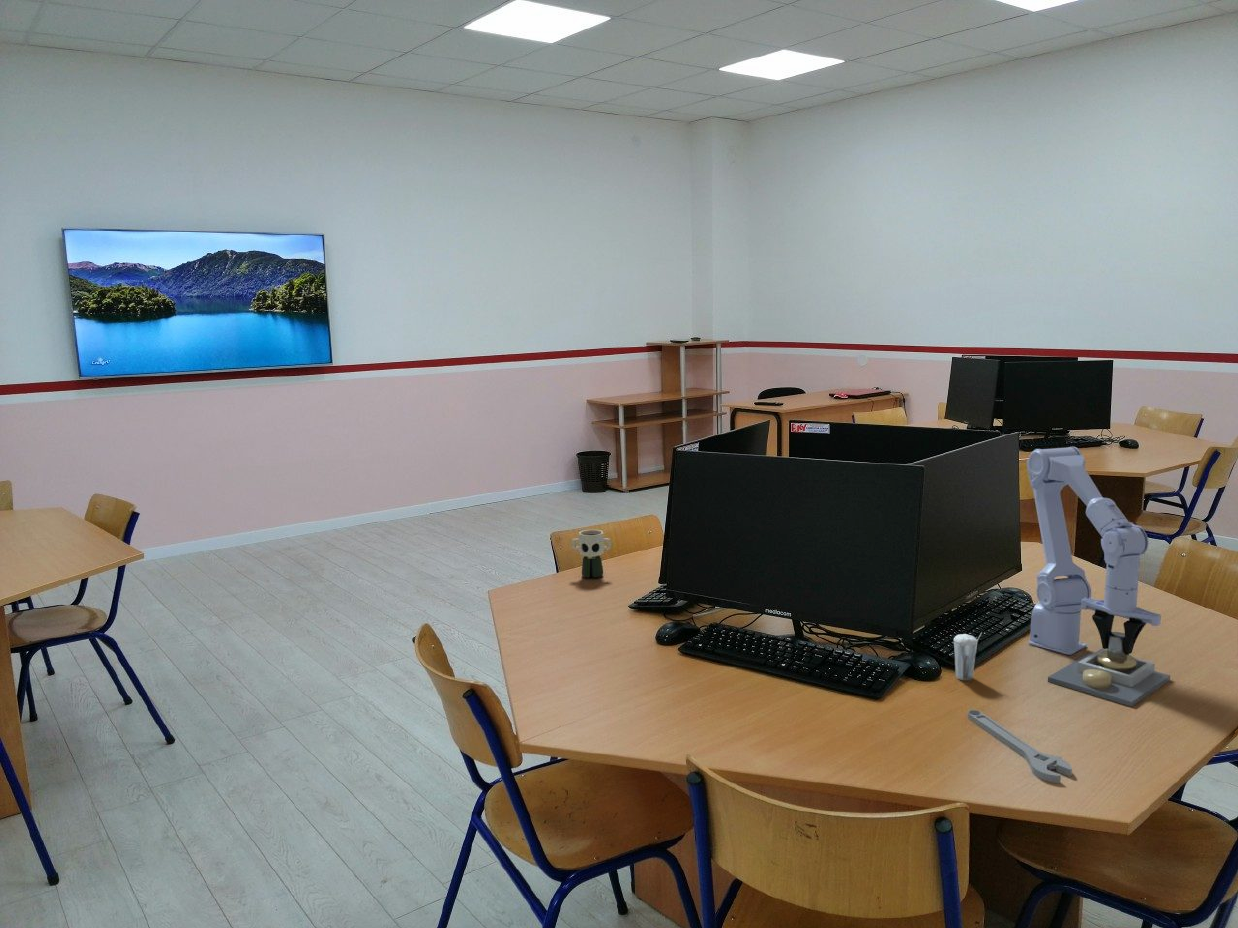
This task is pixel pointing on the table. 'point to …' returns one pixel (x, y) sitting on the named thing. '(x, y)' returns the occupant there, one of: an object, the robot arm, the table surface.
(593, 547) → the character mug
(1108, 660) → the flanged metal cylinder
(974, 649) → the milkshake
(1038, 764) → the adjustable wrench
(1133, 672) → the carrier
